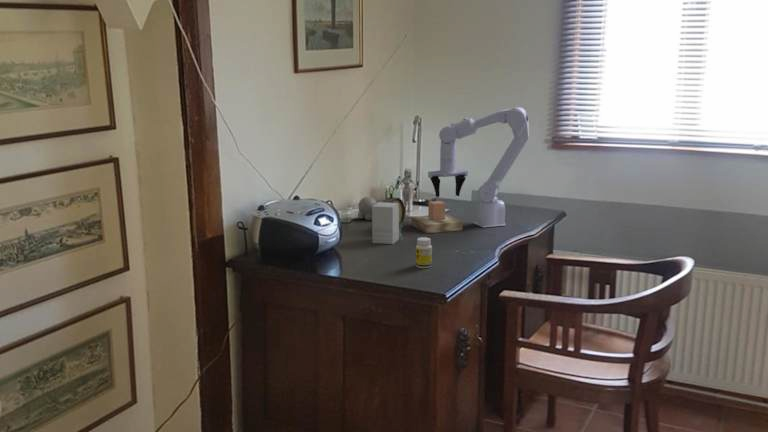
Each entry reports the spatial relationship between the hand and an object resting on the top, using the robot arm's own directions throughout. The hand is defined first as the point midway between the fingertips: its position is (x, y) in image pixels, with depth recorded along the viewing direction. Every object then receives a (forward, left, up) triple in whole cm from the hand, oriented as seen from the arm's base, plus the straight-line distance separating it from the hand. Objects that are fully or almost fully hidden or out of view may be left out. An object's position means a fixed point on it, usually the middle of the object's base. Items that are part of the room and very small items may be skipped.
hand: (447, 196), depth 281 cm
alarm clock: (+24, +5, -10) cm, 26 cm away
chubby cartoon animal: (+24, -14, -10) cm, 30 cm away
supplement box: (+31, +18, -10) cm, 37 cm away
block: (+7, +6, -7) cm, 11 cm away
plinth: (+7, +6, -10) cm, 14 cm away
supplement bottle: (+31, +50, -10) cm, 60 cm away
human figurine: (+9, -17, -10) cm, 22 cm away
